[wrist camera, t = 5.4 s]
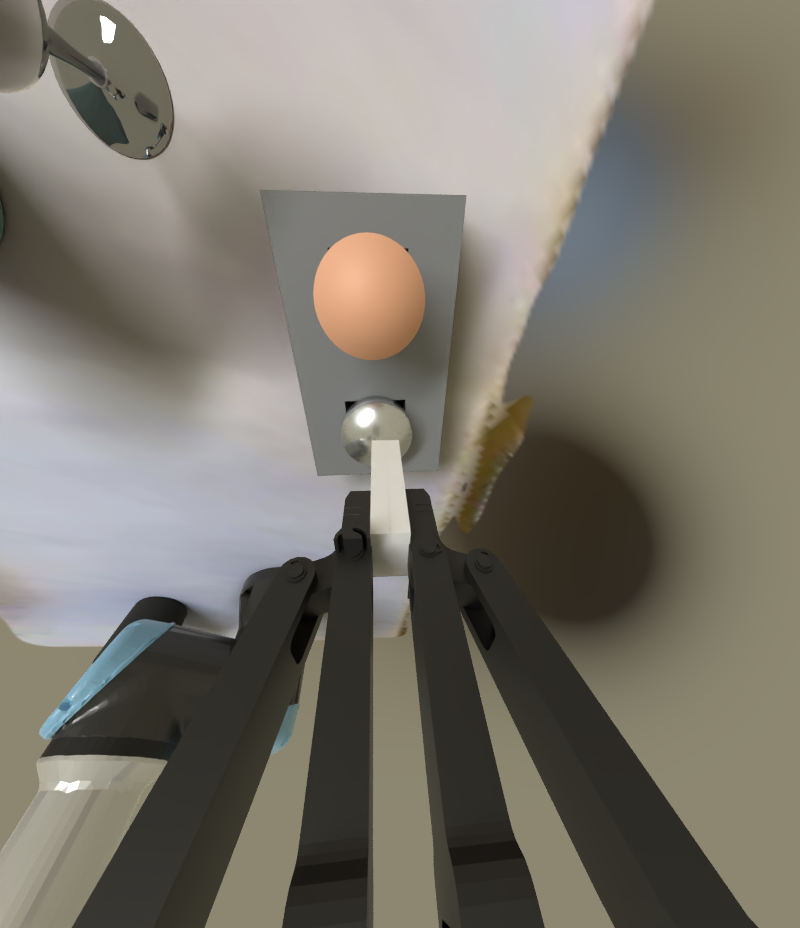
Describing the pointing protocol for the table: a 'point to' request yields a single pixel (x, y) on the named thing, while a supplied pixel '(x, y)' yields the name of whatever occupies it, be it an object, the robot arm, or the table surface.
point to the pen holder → (152, 614)
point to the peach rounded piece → (369, 296)
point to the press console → (324, 364)
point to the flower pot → (1, 221)
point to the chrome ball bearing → (374, 426)
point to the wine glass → (90, 69)
